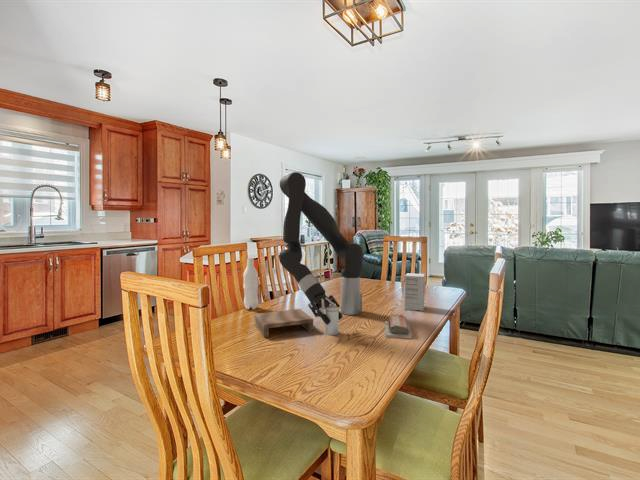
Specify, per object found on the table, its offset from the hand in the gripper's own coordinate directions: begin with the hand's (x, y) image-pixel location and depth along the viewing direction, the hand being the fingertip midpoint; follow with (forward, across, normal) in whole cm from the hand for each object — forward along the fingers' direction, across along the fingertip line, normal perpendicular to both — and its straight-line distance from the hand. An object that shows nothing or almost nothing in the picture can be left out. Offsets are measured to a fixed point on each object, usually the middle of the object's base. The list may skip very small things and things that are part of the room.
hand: (335, 320), depth 137 cm
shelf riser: (-11, -7, +18) cm, 22 cm away
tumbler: (+3, 0, +5) cm, 5 cm away
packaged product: (+17, +18, -8) cm, 26 cm away
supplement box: (+11, +55, -3) cm, 56 cm away
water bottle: (-35, +6, +42) cm, 55 cm away
